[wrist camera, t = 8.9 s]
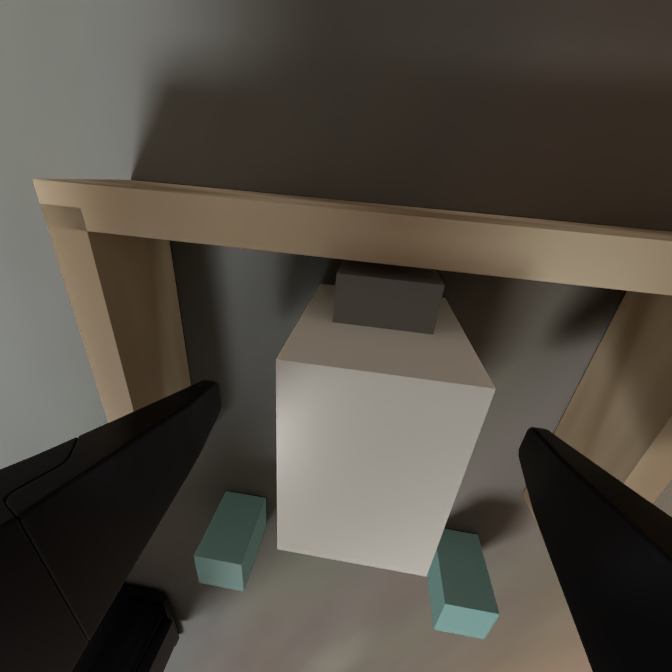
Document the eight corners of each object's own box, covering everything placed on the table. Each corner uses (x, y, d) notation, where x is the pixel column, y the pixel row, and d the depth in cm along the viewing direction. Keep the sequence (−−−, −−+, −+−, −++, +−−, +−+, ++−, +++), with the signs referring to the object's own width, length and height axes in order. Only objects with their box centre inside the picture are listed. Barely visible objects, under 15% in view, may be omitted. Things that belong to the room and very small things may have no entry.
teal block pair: (228, 517, 16) (199, 582, 14) (225, 490, 15) (193, 555, 13) (466, 559, 15) (484, 639, 13) (477, 534, 15) (499, 614, 12)
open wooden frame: (178, 438, 14) (131, 498, 12) (129, 179, 10) (32, 178, 7) (547, 498, 13) (591, 580, 10) (698, 234, 8) (848, 259, 6)
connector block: (312, 423, 13) (277, 549, 9) (323, 245, 10) (275, 298, 5) (410, 438, 13) (426, 576, 8) (453, 259, 10) (518, 327, 5)
